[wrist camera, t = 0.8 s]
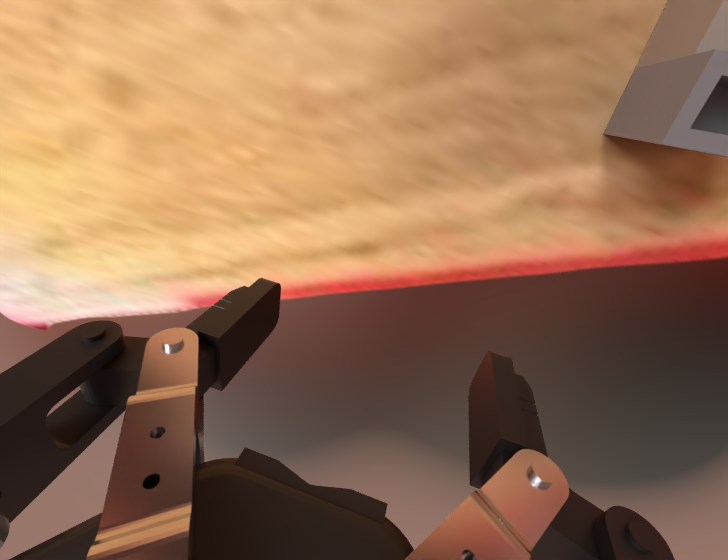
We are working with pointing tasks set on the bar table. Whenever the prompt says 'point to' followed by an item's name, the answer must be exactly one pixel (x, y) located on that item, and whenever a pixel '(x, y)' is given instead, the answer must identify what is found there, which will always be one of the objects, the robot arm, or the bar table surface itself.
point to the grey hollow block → (680, 81)
